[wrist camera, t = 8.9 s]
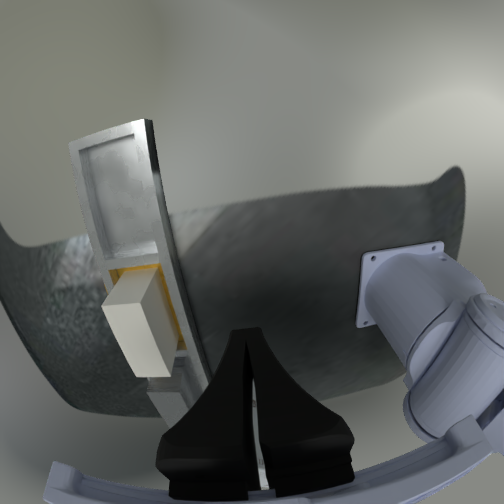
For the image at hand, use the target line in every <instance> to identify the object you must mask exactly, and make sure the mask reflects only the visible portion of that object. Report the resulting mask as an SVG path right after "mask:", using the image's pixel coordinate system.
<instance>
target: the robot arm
mask: <svg viewBox="0 0 504 504" xmlns="http://www.w3.org/2000/svg"><path fill="white" fill-rule="evenodd" d="M432 247H433V248H432ZM443 250H444V243H443V242H442V241H436V242H430V243H424V244H417V245H411V246H405V247H399V248H392V249H386V250H379V251H373V252H367V253H365V254H363V256H362V261H361V274H360V286H359V296H358V306H357V314H356V322H355V324H356V326H357V327H358V328H362V327H366V326H370V325H374V324H377V325H378V327H379V328H380V330H381V331H382V333H383V334H384V336H385V337H386V339H387V341H388V342H389V344H390V345H391V347H392V348H393V350H394V351H395V353H396V354H397V356H398V358H399V359H400V361H401V362H402V364H403V366H404V367H405V369H406V370H407V374H406V376H405V378H404V379H403V381H404V383H405V384H406V386H407V388H408V390H409V391H408V393H407V394H406V396H405V398H404V402H403V412H404V416H405V418H406V421H407V423H408V425H409V427H410V428H411V430H412V431H413V432H414V433H415V434H416V435H417V436H418V437H419V438H420V439H422V440H423V441H425V442H426V443H428V444H426V445H424V446H422V447H419V448H417V449H415V450H413V451H411V452H408V453H406V454H404V455H402V456H399V457H396V458H394V459H391V460H389V461H386V462H383V463H381V464H378V465H375V466H372V467H369V468H366V469H363V470H360V471H357V472H354V471H353V468H352V465H351V462H352V458H351V455H350V451H351V449H352V446H353V444H354V437H353V434H352V432H351V430H350V428H349V427H348V425H347V424H346V422H345V421H344V419H343V418H342V417H341V416H339V415H338V414H336V413H334V412H333V411H331V410H330V409H328V408H326V407H325V406H323V405H322V404H321V403H319V402H318V401H317V400H315V399H314V398H313V397H312V396H311V395H310V394H308V393H307V392H306V391H305V390H304V389H303V388H301V387H300V386H299V385H298V384H297V383H296V382H295V381H294V379H293V378H292V377H291V376H290V375H289V374H288V373H287V372H286V370H285V369H284V368H283V367H282V365H281V364H280V363H279V361H278V360H277V358H276V357H275V355H274V354H273V352H272V351H271V349H270V347H269V346H268V344H267V342H266V340H265V338H264V336H263V333H262V330H261V328H259V327H255V328H247V329H239V330H232V331H231V332H230V337H229V341H228V344H227V347H226V349H225V352H224V354H223V357H222V359H221V361H220V364H219V366H218V368H217V370H216V371H215V373H214V375H213V377H212V379H211V381H210V382H209V384H208V386H207V387H206V389H205V390H204V392H203V393H202V394H201V396H200V397H199V398H198V400H197V401H196V402H195V404H194V405H193V406H192V407H191V408H190V409H189V411H188V412H187V413H186V414H185V415H184V416H183V417H182V418H181V419H180V420H179V421H178V422H177V423H176V424H175V425H174V426H173V427H171V428H170V429H169V430H168V431H167V432H166V433H164V434H163V435H162V437H161V440H160V443H159V447H158V450H157V457H156V468H157V469H158V470H159V471H160V472H161V473H162V474H163V475H164V476H165V477H167V478H168V479H169V480H170V483H169V490H159V489H151V488H144V487H137V486H132V485H126V484H121V483H116V482H111V481H106V480H103V479H98V478H95V477H91V476H88V475H84V474H82V473H81V472H80V471H79V470H78V469H76V468H74V467H72V466H69V465H66V464H63V463H61V462H58V461H53V464H52V467H51V470H50V474H49V477H48V480H47V484H46V488H45V492H44V495H43V500H44V501H46V502H48V503H50V504H415V503H417V502H419V501H421V500H423V499H425V498H427V497H429V496H431V495H432V494H434V493H436V492H438V491H440V490H441V489H443V488H445V487H447V486H448V485H450V484H451V483H453V482H455V481H456V480H458V479H460V478H461V477H463V476H464V475H466V474H467V473H468V472H470V471H471V470H472V469H474V468H475V467H476V466H477V465H478V464H480V463H481V462H482V461H483V460H484V459H485V458H487V457H488V456H489V455H490V454H491V453H497V452H499V453H501V454H502V455H503V456H504V302H503V301H502V300H500V299H498V298H496V297H494V296H492V295H490V294H487V292H486V290H485V287H484V285H483V284H482V282H481V281H480V280H479V279H478V277H476V276H475V275H474V274H473V273H471V272H470V271H469V270H467V269H466V268H465V267H463V266H462V265H461V264H459V263H458V262H457V261H455V260H454V259H452V258H451V257H450V256H448V255H447V254H445V253H444V252H443ZM372 256H374V258H373V259H371V257H372ZM365 321H366V322H365ZM364 322H365V323H364ZM253 381H254V385H255V393H256V406H257V420H258V436H259V444H260V448H261V452H262V456H263V460H264V465H265V474H266V479H267V482H268V485H269V490H261V485H260V478H259V471H258V463H257V455H256V446H255V437H254V428H253Z"/></svg>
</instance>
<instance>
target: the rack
mask: <svg viewBox="0 0 504 504" xmlns="http://www.w3.org/2000/svg"><path fill="white" fill-rule="evenodd" d="M68 144H69V151H70V157H71V162H72V168H73V173H74V179H75V184H76V188H77V193H78V197H79V201H80V206H81V210H82V214H83V218H84V221H85V225H86V229H87V232H88V236H89V239H90V242H91V246H92V249H93V252H94V255H95V258H96V261H97V264H98V267H99V270H100V273H101V276H102V279H103V281H104V286H105V288H106V291H107V293H108V295H109V293H110V292H111V290H112V289H113V287H114V286H115V284H116V283H117V282H118V280H119V279H120V277H121V276H122V274H123V273H124V272H125V271H132V270H140V269H148V268H156V267H158V270H159V274H160V277H161V280H162V284H163V287H164V291H165V294H166V297H167V300H168V304H169V307H170V310H171V313H172V316H173V319H174V322H175V325H176V328H177V331H178V334H179V339H178V344H177V349H176V353H175V358H174V363H173V368H172V373H171V377H147V379H148V381H149V385H148V389H147V394H148V395H149V397H150V399H151V400H152V402H153V404H154V405H155V407H156V408H157V410H158V411H159V413H160V414H161V416H162V417H163V419H164V420H165V422H166V423H167V425H168V426H169V428H171V427H173V426H174V425H175V424H176V423H177V422H178V421H179V420H180V419H181V418H182V417H183V416H184V415H185V414H186V413H187V412H188V411H189V409H190V408H191V407H192V406H193V405H194V404H195V402H196V401H197V400H198V398H199V397H200V396H201V394H202V393H203V392H204V390H205V389H206V387H207V386H208V384H209V382H210V381H211V379H212V376H211V373H210V370H209V367H208V364H207V361H206V358H205V355H204V351H203V348H202V345H201V342H200V338H199V335H198V332H197V328H196V325H195V321H194V318H193V314H192V311H191V307H190V304H189V300H188V296H187V293H186V289H185V285H184V281H183V277H182V273H181V269H180V265H179V261H178V257H177V252H176V248H175V244H174V239H173V235H172V230H171V226H170V221H169V216H168V211H167V207H166V201H165V196H164V192H163V186H162V180H161V174H160V168H159V163H158V157H157V150H156V144H155V137H154V130H153V122H152V120H148V119H141V120H137V121H133V122H129V123H126V124H122V125H119V126H116V127H112V128H109V129H106V130H103V131H100V132H97V133H94V134H91V135H88V136H85V137H82V138H80V139H77V140H74V141H72V142H69V143H68Z"/></svg>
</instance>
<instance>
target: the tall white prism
mask: <svg viewBox="0 0 504 504" xmlns="http://www.w3.org/2000/svg"><path fill="white" fill-rule="evenodd" d="M102 309H103V311H104V313H105V315H106V318H107V320H108V322H109V324H110V327H111V329H112V331H113V333H114V335H115V337H116V339H117V341H118V343H119V345H120V347H121V349H122V351H123V353H124V355H125V357H126V359H127V361H128V363H129V365H130V366H131V368H132V370H133V372H134V374H135V375H136V377H171V373H172V368H173V363H174V358H175V353H176V349H177V344H178V339H179V334H178V331H177V328H176V325H175V322H174V319H173V316H172V313H171V310H170V307H169V304H168V300H167V297H166V294H165V291H164V287H163V284H162V280H161V277H160V274H159V270H158V267H156V268H148V269H140V270H132V271H125V272H124V273H123V274H122V276H121V277H120V279H119V280H118V282H117V283H116V284H115V286H114V287H113V289H112V290H111V292H110V293H109V295H108V296H107V298H106V299H105V301H104V303H103V304H102Z"/></svg>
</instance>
